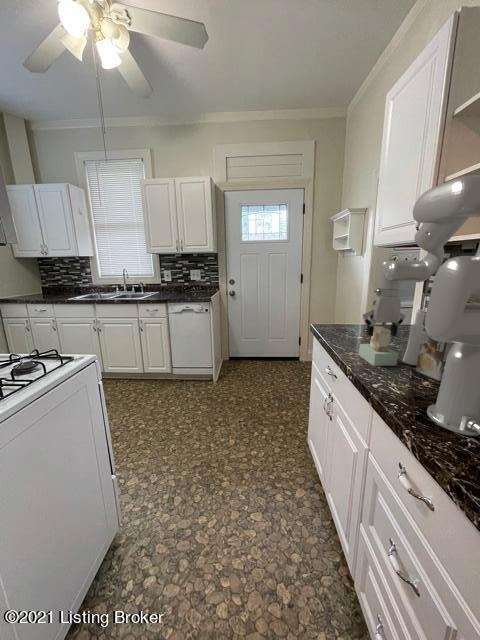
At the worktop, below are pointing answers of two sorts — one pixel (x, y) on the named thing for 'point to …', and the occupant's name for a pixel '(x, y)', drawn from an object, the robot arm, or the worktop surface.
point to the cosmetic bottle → (415, 339)
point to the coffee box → (432, 357)
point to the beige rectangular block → (380, 339)
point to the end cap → (378, 356)
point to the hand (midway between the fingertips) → (381, 335)
